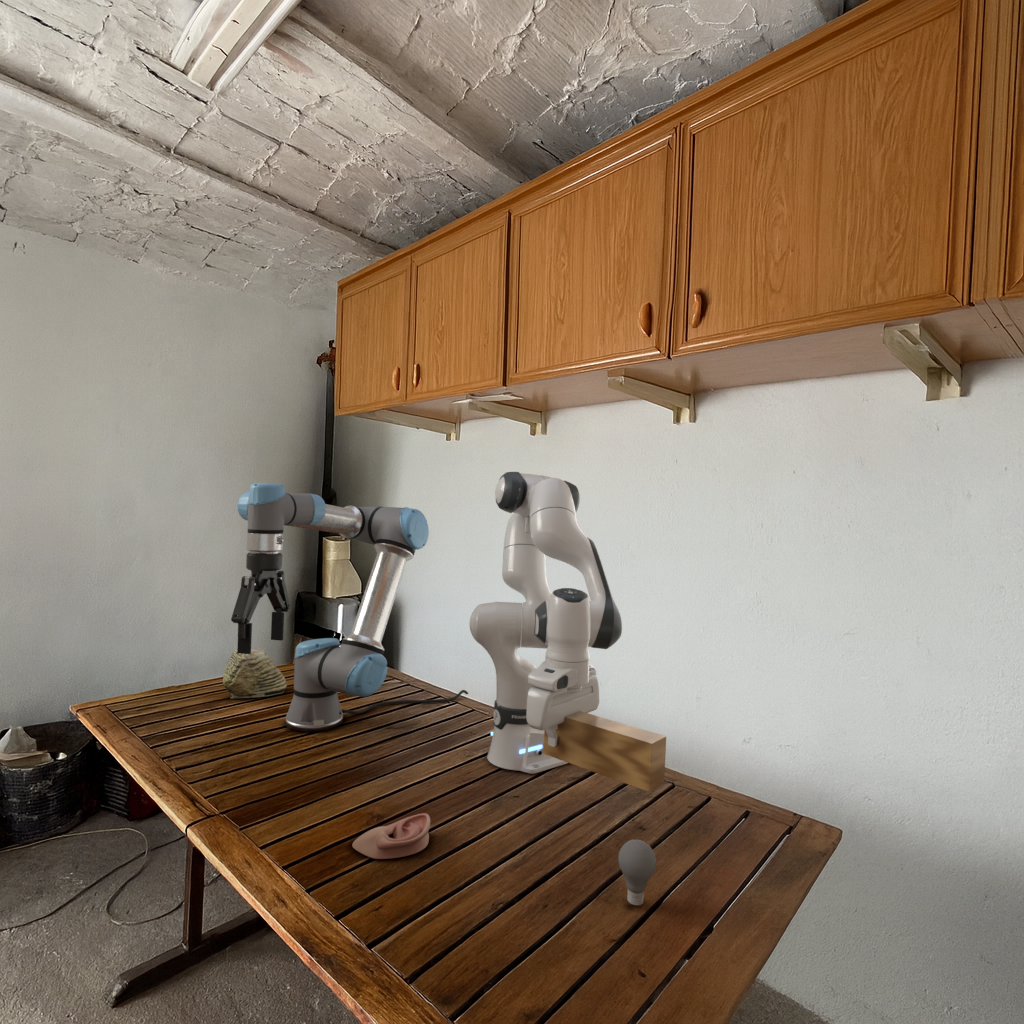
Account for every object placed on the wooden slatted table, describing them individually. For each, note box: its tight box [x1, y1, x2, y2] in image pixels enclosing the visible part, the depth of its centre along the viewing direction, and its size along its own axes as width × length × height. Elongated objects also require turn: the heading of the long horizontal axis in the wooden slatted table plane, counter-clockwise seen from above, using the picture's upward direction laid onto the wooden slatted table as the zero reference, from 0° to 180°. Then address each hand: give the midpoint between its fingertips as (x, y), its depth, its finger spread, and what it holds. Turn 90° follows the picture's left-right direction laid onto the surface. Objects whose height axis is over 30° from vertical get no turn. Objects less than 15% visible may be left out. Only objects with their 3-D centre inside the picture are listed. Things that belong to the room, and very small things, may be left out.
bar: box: [543, 711, 667, 793], centre depth 120 cm, size 24×5×8 cm, turn 49°
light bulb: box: [618, 838, 657, 906], centre depth 102 cm, size 6×6×10 cm
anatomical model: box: [351, 812, 431, 860], centre depth 117 cm, size 13×4×12 cm
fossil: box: [222, 647, 288, 699], centre depth 198 cm, size 9×18×15 cm, turn 132°
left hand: (261, 646), depth 142 cm, fingers open, 13 cm apart
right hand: (563, 741), depth 126 cm, fingers closed on bar, 5 cm apart
